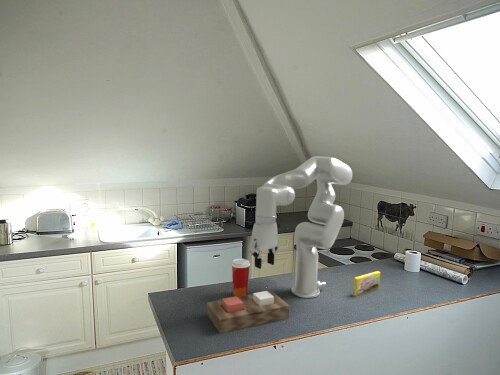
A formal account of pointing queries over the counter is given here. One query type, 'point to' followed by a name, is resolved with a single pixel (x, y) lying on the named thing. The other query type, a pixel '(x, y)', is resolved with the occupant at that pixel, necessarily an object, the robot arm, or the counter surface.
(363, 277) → the candy box
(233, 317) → the panel
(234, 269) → the coffee cup
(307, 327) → the counter surface
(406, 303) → the counter surface
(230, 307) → the red key
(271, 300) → the white key
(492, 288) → the counter surface
